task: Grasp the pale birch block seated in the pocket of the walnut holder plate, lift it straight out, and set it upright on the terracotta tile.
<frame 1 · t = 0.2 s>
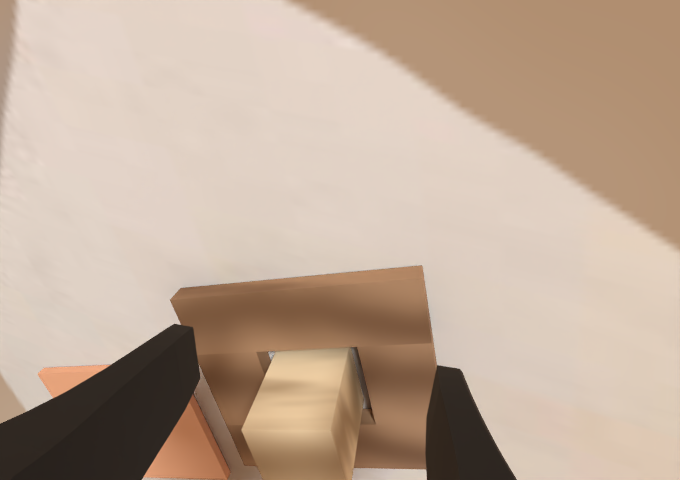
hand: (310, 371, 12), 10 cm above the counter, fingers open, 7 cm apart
tile: (140, 421, 31), on the counter
pocket plate: (321, 374, 26), on the counter
birch block: (321, 373, 26), resting in pocket plate
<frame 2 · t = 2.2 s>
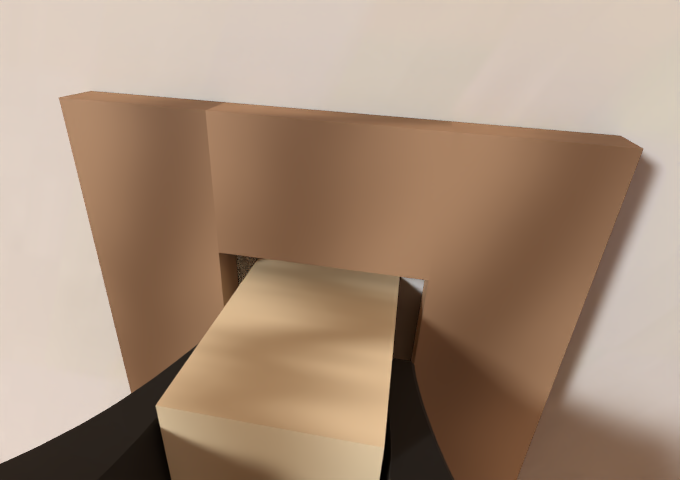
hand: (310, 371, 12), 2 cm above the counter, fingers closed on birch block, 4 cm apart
pocket plate: (325, 324, 14), on the counter
birch block: (325, 323, 14), resting in pocket plate, touching gripper
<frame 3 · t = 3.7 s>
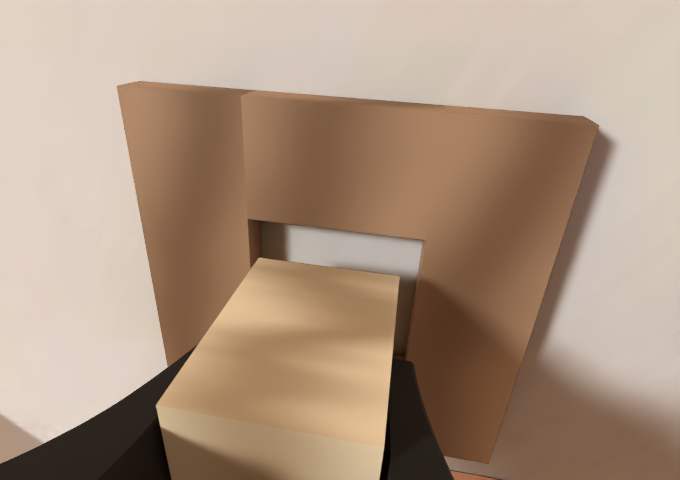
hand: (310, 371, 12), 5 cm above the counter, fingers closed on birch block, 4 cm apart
pocket plate: (336, 285, 17), on the counter
birch block: (325, 323, 14), point 2 cm above the counter, touching gripper
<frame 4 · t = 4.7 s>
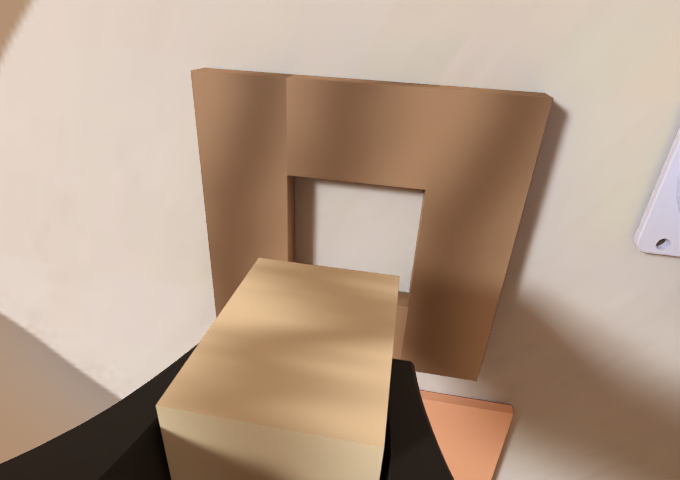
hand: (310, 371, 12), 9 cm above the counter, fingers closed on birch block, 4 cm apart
tile: (401, 451, 27), on the counter
pocket plate: (354, 233, 21), on the counter
birch block: (325, 323, 14), point 7 cm above the counter, touching gripper
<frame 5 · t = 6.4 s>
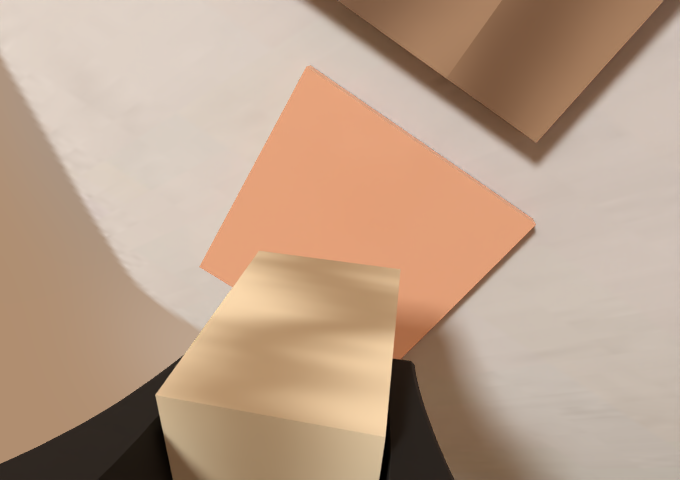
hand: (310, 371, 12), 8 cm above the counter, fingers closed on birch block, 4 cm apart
tile: (352, 241, 20), on the counter
birch block: (325, 317, 14), point 6 cm above the counter, touching gripper
when the fingers open (4 cm above the counter, at t = 7.5 s): birch block drops 1 cm, resting on tile.
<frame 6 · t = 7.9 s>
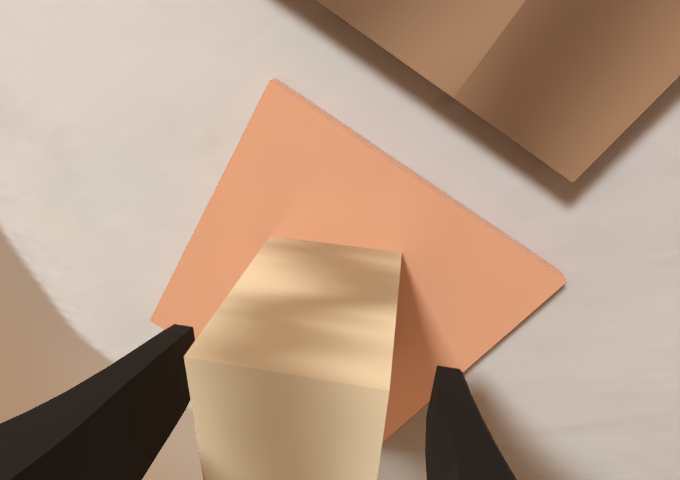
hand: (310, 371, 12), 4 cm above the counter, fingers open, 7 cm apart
tile: (334, 294, 16), on the counter
birch block: (332, 299, 15), point 1 cm above the counter, touching tile
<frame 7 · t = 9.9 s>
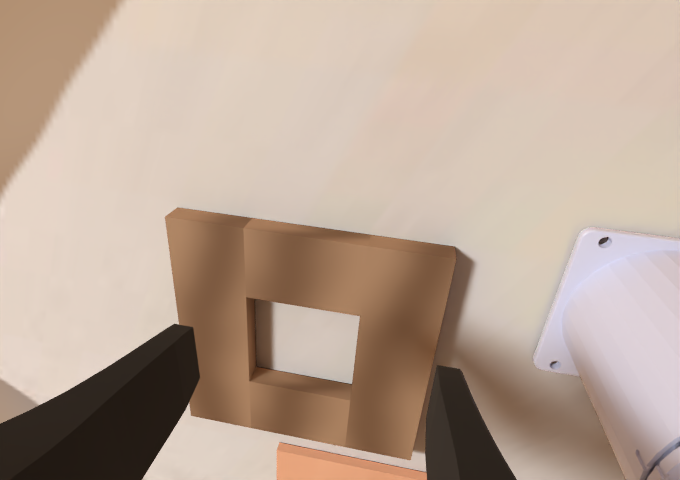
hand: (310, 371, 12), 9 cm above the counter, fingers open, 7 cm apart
pocket plate: (305, 336, 24), on the counter
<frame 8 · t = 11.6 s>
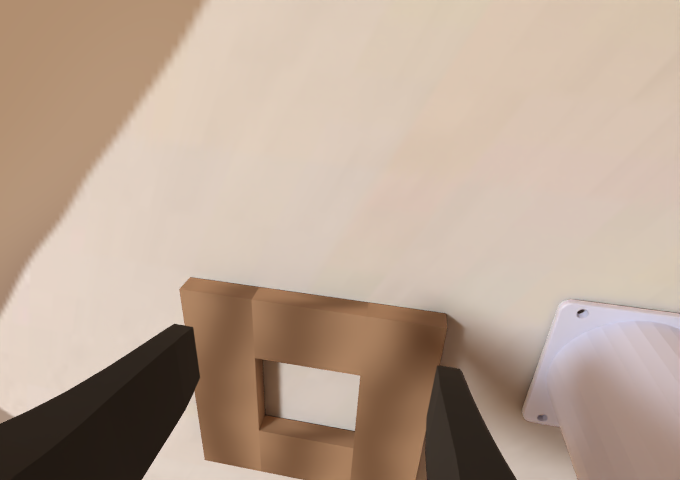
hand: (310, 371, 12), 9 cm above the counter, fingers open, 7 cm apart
pocket plate: (310, 389, 26), on the counter
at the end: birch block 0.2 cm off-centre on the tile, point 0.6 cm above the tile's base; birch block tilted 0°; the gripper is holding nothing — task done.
